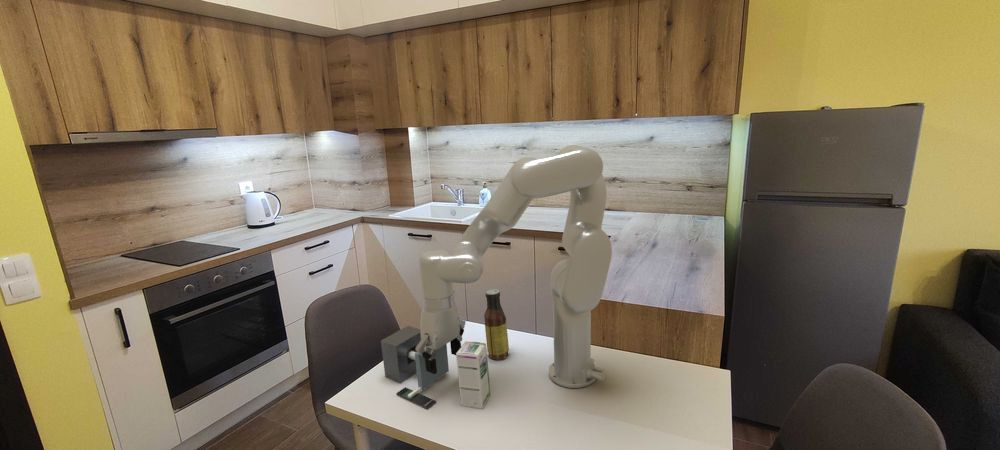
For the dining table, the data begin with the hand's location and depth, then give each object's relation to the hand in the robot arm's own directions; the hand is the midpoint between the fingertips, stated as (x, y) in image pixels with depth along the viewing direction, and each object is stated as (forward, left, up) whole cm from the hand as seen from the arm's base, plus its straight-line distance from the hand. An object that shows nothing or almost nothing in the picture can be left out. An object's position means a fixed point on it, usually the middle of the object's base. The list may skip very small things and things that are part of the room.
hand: (444, 363), depth 113 cm
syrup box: (-10, 0, -7) cm, 12 cm away
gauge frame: (+8, +2, -7) cm, 11 cm away
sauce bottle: (-2, -20, -7) cm, 21 cm away
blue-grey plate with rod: (+11, +2, -6) cm, 13 cm away
